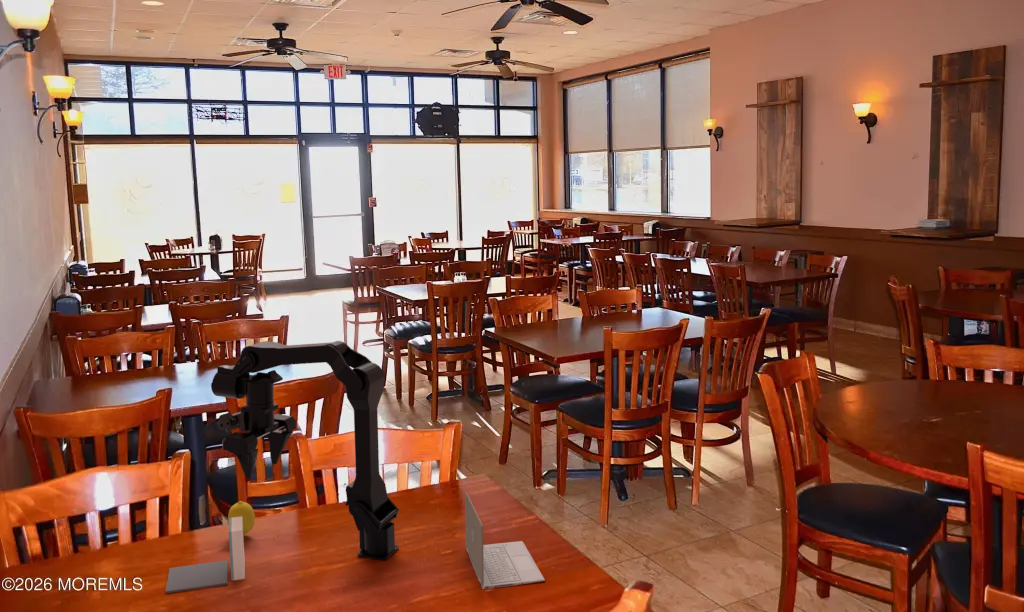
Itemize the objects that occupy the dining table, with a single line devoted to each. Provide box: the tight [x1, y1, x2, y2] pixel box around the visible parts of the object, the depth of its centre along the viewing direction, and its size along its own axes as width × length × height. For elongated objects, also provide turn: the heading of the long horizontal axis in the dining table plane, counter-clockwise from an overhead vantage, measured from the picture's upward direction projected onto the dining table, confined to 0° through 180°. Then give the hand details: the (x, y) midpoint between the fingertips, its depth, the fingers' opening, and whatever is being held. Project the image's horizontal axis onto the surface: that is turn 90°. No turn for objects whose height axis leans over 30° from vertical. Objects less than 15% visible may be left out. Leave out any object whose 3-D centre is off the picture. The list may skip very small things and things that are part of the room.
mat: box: [164, 559, 229, 594], centre depth 161 cm, size 11×10×1 cm
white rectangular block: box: [228, 517, 246, 582], centre depth 162 cm, size 2×7×10 cm, turn 18°
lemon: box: [227, 500, 256, 537], centre depth 179 cm, size 6×6×8 cm
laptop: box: [464, 491, 545, 590], centre depth 165 cm, size 18×12×13 cm
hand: (261, 470), depth 178 cm, fingers open, 9 cm apart
